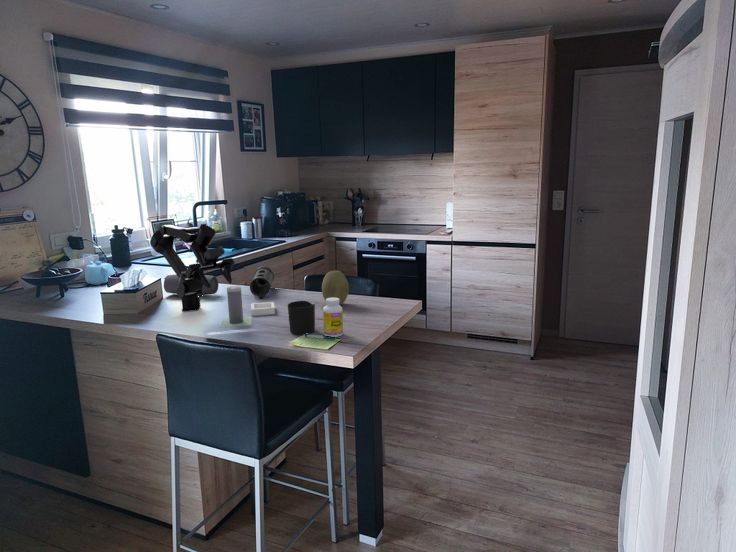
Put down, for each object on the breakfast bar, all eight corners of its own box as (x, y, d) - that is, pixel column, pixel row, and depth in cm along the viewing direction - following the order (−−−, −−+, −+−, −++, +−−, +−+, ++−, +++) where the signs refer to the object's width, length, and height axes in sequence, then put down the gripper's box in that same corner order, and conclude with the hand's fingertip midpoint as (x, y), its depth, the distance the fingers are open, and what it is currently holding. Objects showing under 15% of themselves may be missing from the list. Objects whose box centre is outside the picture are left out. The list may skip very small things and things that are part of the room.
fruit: (354, 303, 214) (353, 269, 211) (338, 310, 205) (337, 274, 202) (332, 300, 220) (331, 266, 217) (316, 306, 211) (315, 271, 208)
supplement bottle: (330, 339, 170) (329, 302, 168) (320, 334, 176) (318, 298, 173) (346, 335, 174) (345, 299, 171) (336, 330, 179) (335, 295, 177)
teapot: (104, 278, 273) (102, 257, 271) (120, 283, 262) (117, 261, 260) (80, 282, 264) (77, 261, 262) (95, 287, 253) (91, 265, 250)
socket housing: (251, 318, 196) (251, 309, 195) (251, 311, 205) (250, 303, 204) (275, 316, 198) (274, 307, 197) (274, 310, 207) (273, 301, 206)
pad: (220, 330, 182) (220, 327, 182) (222, 321, 193) (221, 318, 193) (251, 327, 185) (251, 324, 184) (251, 318, 195) (251, 316, 195)
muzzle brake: (249, 300, 224) (248, 277, 222) (255, 285, 251) (254, 265, 249) (271, 299, 225) (270, 276, 223) (275, 285, 252) (274, 264, 250)
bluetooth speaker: (163, 297, 230) (161, 276, 228) (175, 292, 239) (172, 272, 237) (210, 299, 226) (208, 277, 224) (219, 294, 235) (218, 273, 233)
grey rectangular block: (227, 323, 187) (224, 289, 184) (233, 319, 191) (230, 285, 189) (239, 324, 186) (237, 289, 183) (245, 320, 190) (243, 286, 188)
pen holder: (317, 327, 184) (316, 300, 182) (313, 335, 175) (312, 307, 172) (291, 327, 184) (290, 300, 182) (286, 335, 175) (285, 308, 173)
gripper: (186, 243, 185) (205, 276, 180) (230, 237, 199) (248, 268, 194) (177, 262, 192) (195, 294, 187) (221, 255, 206) (238, 285, 201)
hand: (220, 285), depth 192 cm, fingers open, 9 cm apart
